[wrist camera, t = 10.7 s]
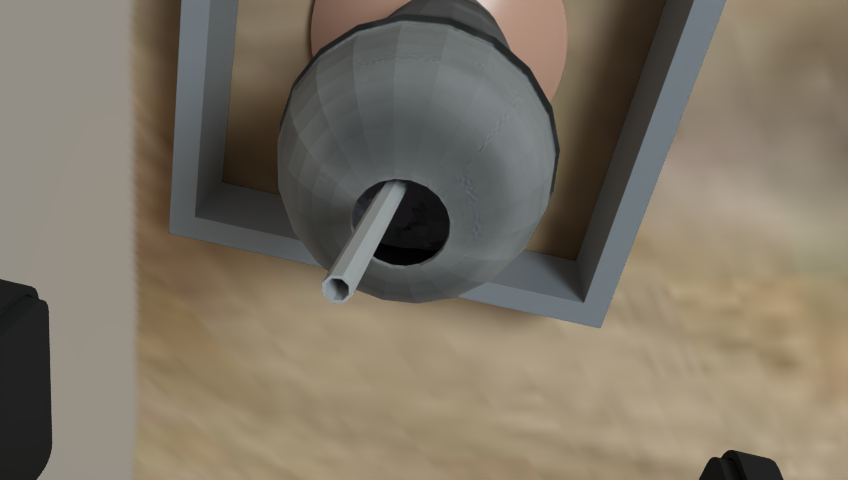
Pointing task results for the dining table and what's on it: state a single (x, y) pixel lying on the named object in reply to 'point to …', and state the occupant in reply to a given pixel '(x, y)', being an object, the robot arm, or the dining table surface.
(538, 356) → the dining table surface
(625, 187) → the grey square frame
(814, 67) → the dining table surface
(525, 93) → the beverage cup
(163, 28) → the dining table surface
